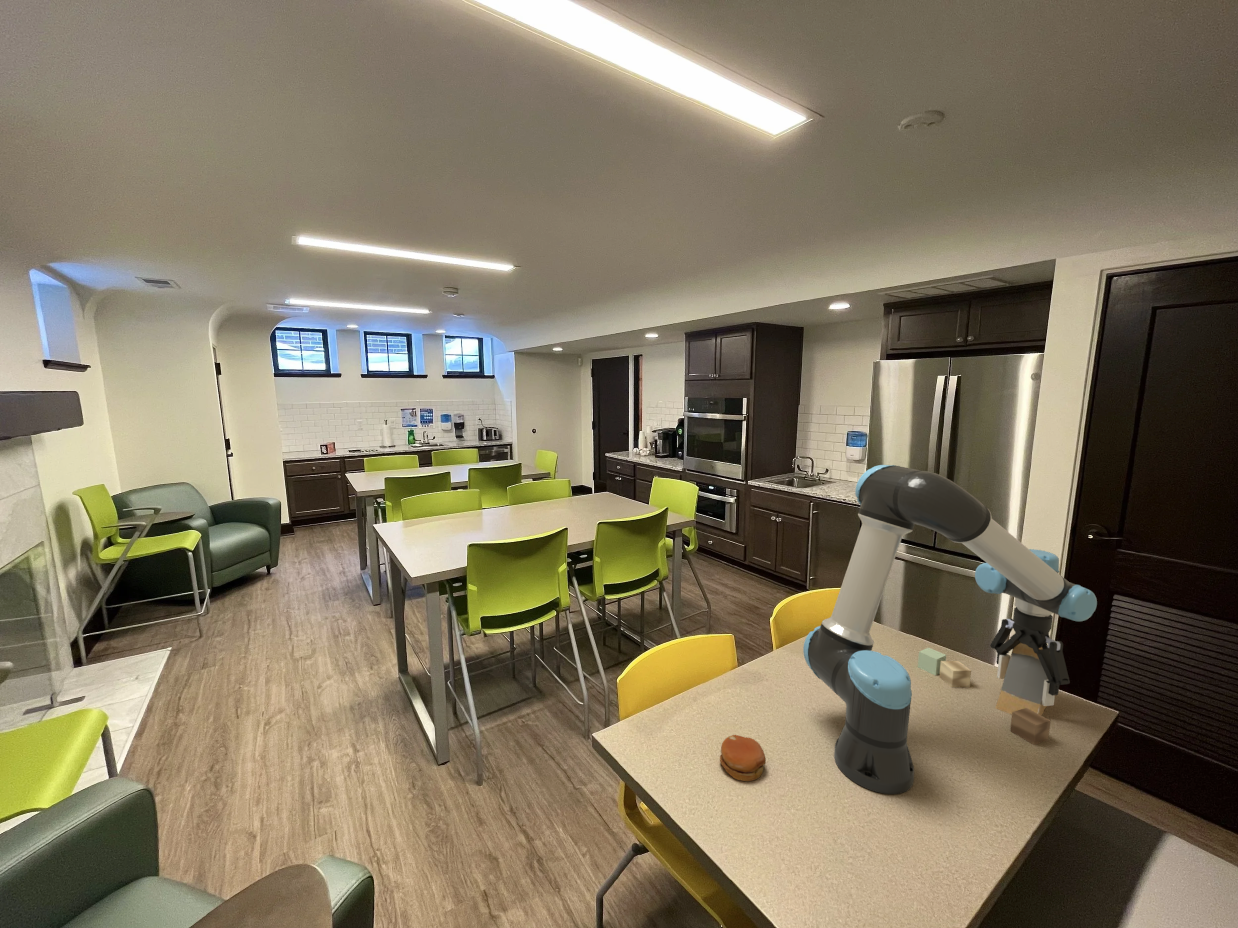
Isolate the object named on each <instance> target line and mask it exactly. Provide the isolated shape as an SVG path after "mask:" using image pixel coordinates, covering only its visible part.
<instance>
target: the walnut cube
mask: <svg viewBox="0 0 1238 928" xmlns="http://www.w3.org/2000/svg"><path fill="white" fill-rule="evenodd" d="M1050 729H1051V720H1050V719H1049V718H1046V717H1045V716H1043V715H1042V716H1041V715H1039V714H1037V713H1035V712H1034V711H1032V710H1030V709H1028V708H1024V709H1021V710H1017V711H1014V712H1012V715H1011V722H1010V729H1009V730H1010V733H1013V734H1014V735H1016V736H1017V737H1019V738H1021V739H1022V740H1024V741H1026V742H1028V743H1029V744H1031V745H1033V746H1035V745H1039V744H1041V743H1043V742H1047V741H1049V735H1050Z"/></svg>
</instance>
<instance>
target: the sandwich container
mask: <svg viewBox="0 0 1238 928" xmlns="http://www.w3.org/2000/svg"><path fill="white" fill-rule="evenodd" d="M1039 649H1040V650H1041V649H1043V648H1042V647H1041V648H1039ZM1044 680H1048V678H1047V676H1046V674H1045V671H1044V669H1043V667H1042V665H1041V662H1040V660H1039V658H1038V656H1037V654H1036V653H1035V652H1034V651H1033V648H1030V647H1028V646H1027V645H1025V644H1022V643H1019V644H1018V645H1017V646H1016V647H1014V648H1013V649H1012V650H1011V654H1010V660H1009V664H1008V667H1007V671H1006V674H1005V677H1004V679H1003V682H1002V685H1001V688H1000V692H999V695H998V698H997V701H996V705H995V709H996V710H999V711H1000V712H1004V713H1006V714H1007V715H1010V716H1012V712H1014V711H1017V710H1021V709H1024V708H1028V709H1030V710H1032V711H1034V712H1035V713H1037V714H1039V715H1041V716H1043V715H1044V712H1045V711H1046V708H1047V707H1048V706H1043V705H1042V696H1043V688H1044Z"/></svg>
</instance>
